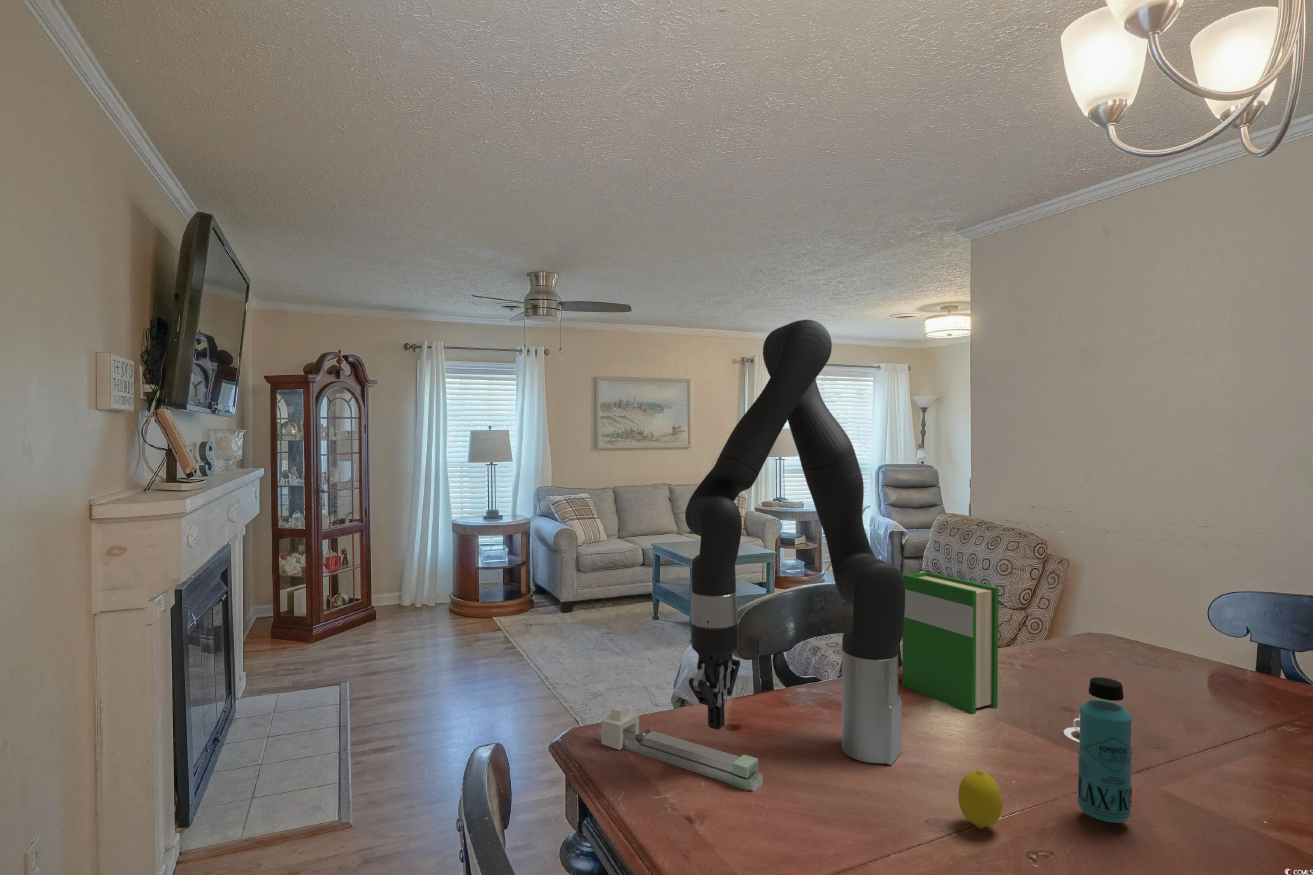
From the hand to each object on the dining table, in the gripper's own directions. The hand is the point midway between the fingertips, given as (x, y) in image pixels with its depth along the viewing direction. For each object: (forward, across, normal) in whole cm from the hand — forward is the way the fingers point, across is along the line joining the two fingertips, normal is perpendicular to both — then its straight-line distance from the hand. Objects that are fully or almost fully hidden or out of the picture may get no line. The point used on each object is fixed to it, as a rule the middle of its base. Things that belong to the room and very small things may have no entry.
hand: (716, 726), depth 112 cm
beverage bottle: (+9, +19, -52) cm, 56 cm away
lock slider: (+7, 0, +20) cm, 21 cm away
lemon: (+8, +7, -38) cm, 39 cm away
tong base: (+7, 0, +8) cm, 11 cm away
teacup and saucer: (+10, +49, -51) cm, 71 cm away
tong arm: (+6, 0, +4) cm, 7 cm away
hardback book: (+9, +56, -23) cm, 62 cm away
